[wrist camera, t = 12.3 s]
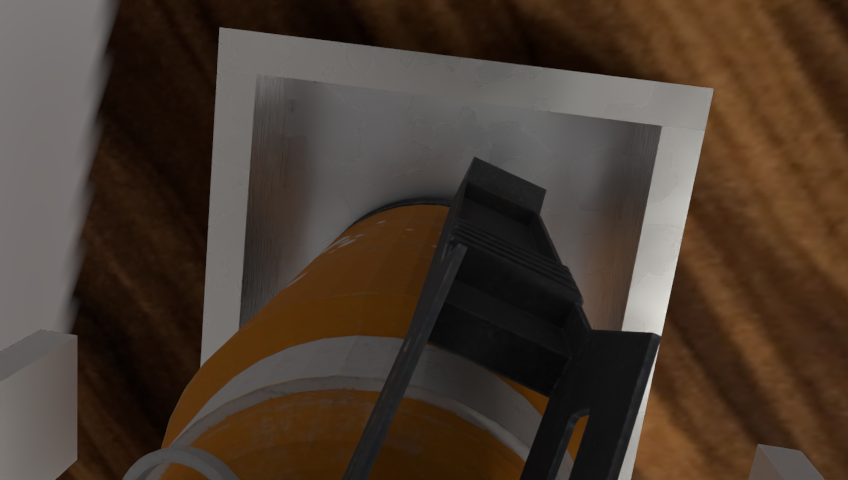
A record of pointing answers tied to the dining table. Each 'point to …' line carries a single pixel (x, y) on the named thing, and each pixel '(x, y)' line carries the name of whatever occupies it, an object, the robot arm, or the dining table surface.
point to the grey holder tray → (442, 166)
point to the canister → (418, 359)
